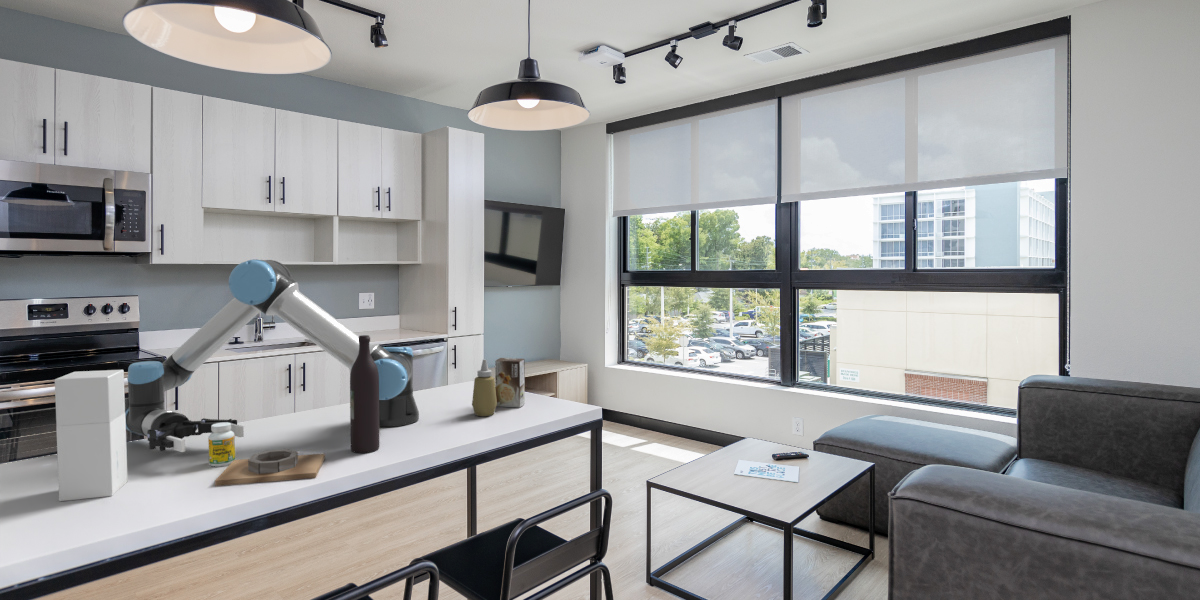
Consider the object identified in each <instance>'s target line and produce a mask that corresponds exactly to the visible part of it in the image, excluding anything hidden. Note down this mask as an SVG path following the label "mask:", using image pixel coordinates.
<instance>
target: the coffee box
mask: <svg viewBox="0 0 1200 600" xmlns="http://www.w3.org/2000/svg"><path fill="white" fill-rule="evenodd" d="M525 360H526V359H525V358H517V357H516V358H513V357H512V358H511V357H500V358H498V359H496V360H495V361H494V362H495V366H494V367H495V369H494V370H495V372H494V373H495V377H494V378H495V388H496V399H497V405H496V407H503V408H505V407H506V408H508V407H509V408H521V407H523V406H524V405H525V404H526V403H525V401H526V399H525V397H526V396H525V394H526V393H525V392H526V391H525V389H526V388H525V386H526V385H525V382H526V381H525V377H526V376H525V374H526V373H525V369H526V367H525Z"/></svg>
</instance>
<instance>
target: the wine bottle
mask: <svg viewBox="0 0 1200 600" xmlns="http://www.w3.org/2000/svg"><path fill="white" fill-rule="evenodd" d="M358 336H359V338H358V342H359V354H358V356H357V358H356V360H355V362H354V364H353V366H352V369H351V373H350V372H349V409H350V410H349V413H350V414H349V415H350V416H349V417H350V418H349V421H350V431H349V432H350V438H349V439H350V451H351V453H352V452H353V453H356V454H367V452H368V453H372V451H373V452H375V451H377V450H379V448H380V426H379V372H378V368H377V366H376V364H375V362H374V360H373V358H372V356H371V354H370V349H369V344H370V342H371V336H370V335H365V334H364V335H362V334H361V335H358Z"/></svg>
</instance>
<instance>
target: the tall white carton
mask: <svg viewBox="0 0 1200 600" xmlns="http://www.w3.org/2000/svg"><path fill="white" fill-rule="evenodd" d="M124 373H125V371H124V369H107V370H89V371H88V370H86V371H85V370H83V371H73V372H70V373H68V374H65V375H63V376H60V377H57V378H55V379H54V392H55V393H54V395H55V397H54V398H55V421H56V422H55V423H56V424H55V425H56V426H55V427H56V452H57V454H56V455H57V477H58V500H59V502H66V501H77V500H86V499H95V498H105V497H113V496H114V495H115V494H116V493H117V492H118V491H119V490H120V489H121V488H122V487H123V486H124V485H126V483H127V482H128V456H127V455H128V454H127V453H128V452H127V431H126V430H127V429H126V419H125V412H126V404H125V403H126V401H125V399H126V398H125V374H124Z"/></svg>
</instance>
